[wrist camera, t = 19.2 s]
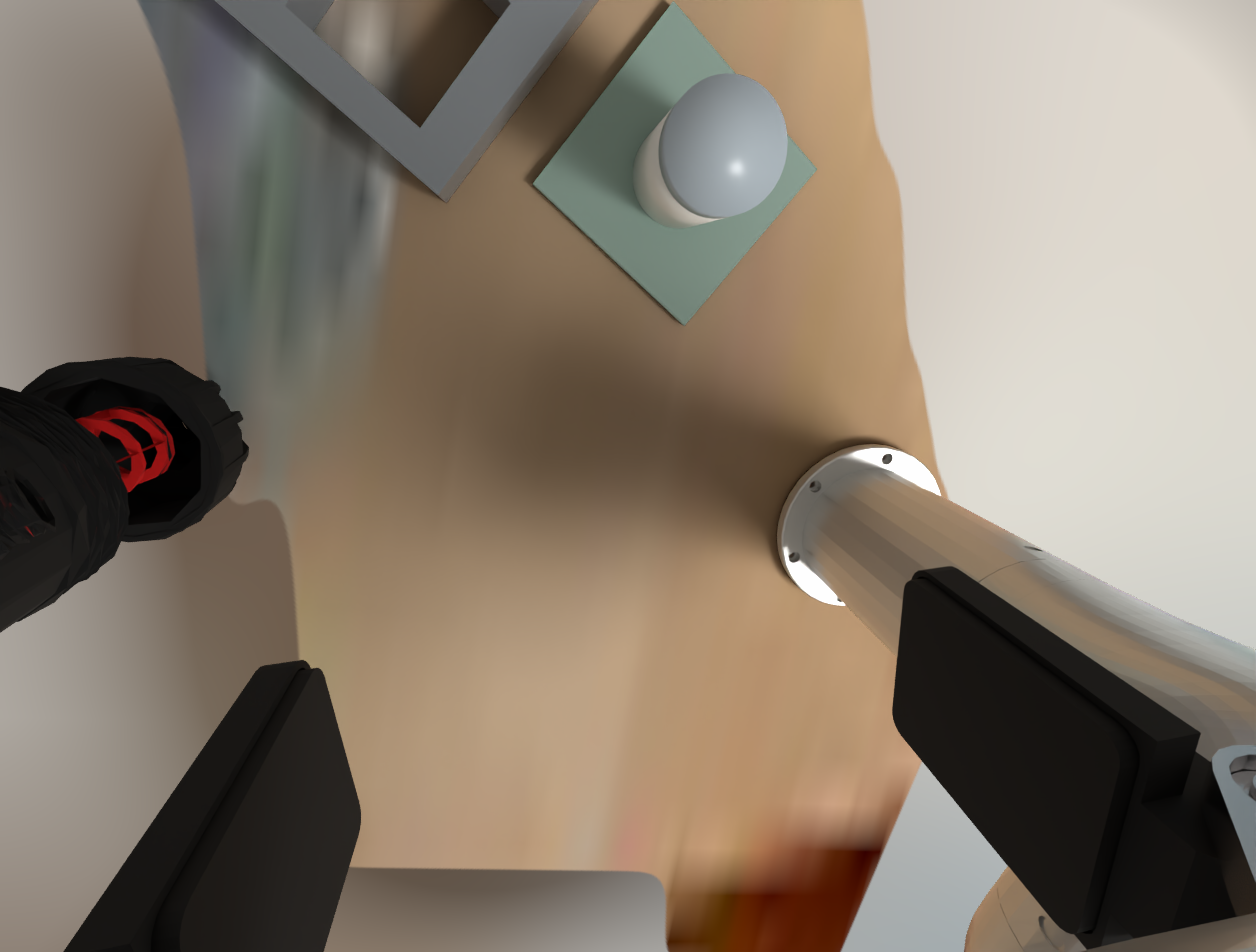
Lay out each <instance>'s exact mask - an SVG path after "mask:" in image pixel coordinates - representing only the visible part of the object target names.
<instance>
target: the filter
mask: <svg viewBox="0 0 1256 952" xmlns="http://www.w3.org/2000/svg"><path fill="white" fill-rule="evenodd" d="M220 390H221V389H220V386H219V385H218V384H216V383H215V382H214V381H212V380H211V381H204V380H202V379H200V378H199V377H197V376H195V375H193V374H191V373H190V372H188V371H186V370H185V369H184V368H182V367H180V366H179V365H177V364H176V363H174V362H173V361H171V360H167V359H162V358H157V359H151V358H138V357H125V358H112V359H104V360H95V361H87V362H69V363H65V364H62V365H59V366H57V367H54V368H51V369H48V370H46V371H45V372H44V373H43V374H41V375H40V376H39V377H37V378H36V379H35V380H34V381H32V382H31V383H30V384H28V385H27V386H26V387H25V388H24V389H23V390H22V391H21V392H18V391H14V390H10V389H7V388H3V387H0V632H2V631H3V630H5V629H6V628H8V627H9V626H11V625H12V624H14V623H15V622H18V621H21V620H23V619H24V618H26V617H28V616H30V615H32V614H34V613H36V612H37V611H39V610H41V609H43V608H45V607H47V606H49V605H50V604H52V603H54V602H55V601H56V600H57V599H58V598H59V597H60V596H61V595H62V594H64V593H66V592H67V591H68V590H69V589H70V588H72V587H73V586H74V585H75V584H77V583H78V582H81V581H83V580H87V579H88V578H89V577H90V576H91V575H93V574H94V573H96V572H97V571H98V570H99V568H100V567H101V566H102V565H104V564H105V563H106V562H108V561H109V560H110V559H112V558H113V557H114V556H115V553H116V551H117V549H118V547H119V545H120V542H121V541H124V542H137V541H149V540H160V539H166V538H168V537H170V536H172V535H174V534H176V533H178V532H181V531H183V530H185V529H186V528H188V527H189V526H191V525H193V524H195V523H197V522H199V521H201V520H202V518H203V517H204V515H205V514H206V513H208V512H209V511H210V510H211V509H212V508H214V507H215V506H216V505H217V504H218V503H219V502H221V501H222V500H223V499H224V498H226V497H227V496H228V495H229V493H230V492H231V491H232V490H233V488H234V486H235V484H236V480H237V478H238V476H239V475H240V471H241V468H242V464H243V462H245V460H246V459H247V457H248V453H249V447H248V446H247V444H246V443H245V442H244V441H243V440H242V432H241V429H240V428H239V426H238V424H237V423H239V422H241V421H242V420H243V417H242V415H241V413H240V411H233V412H231V411H230V409H229V407H228V406H227V404H226V402H225V400H224V399H223V398H221V397H220V396H219V393H220ZM183 423H184V425H185V426H186V428H187V429H188V430H187V429H186V428H185V426H184V425H183Z"/></svg>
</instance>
